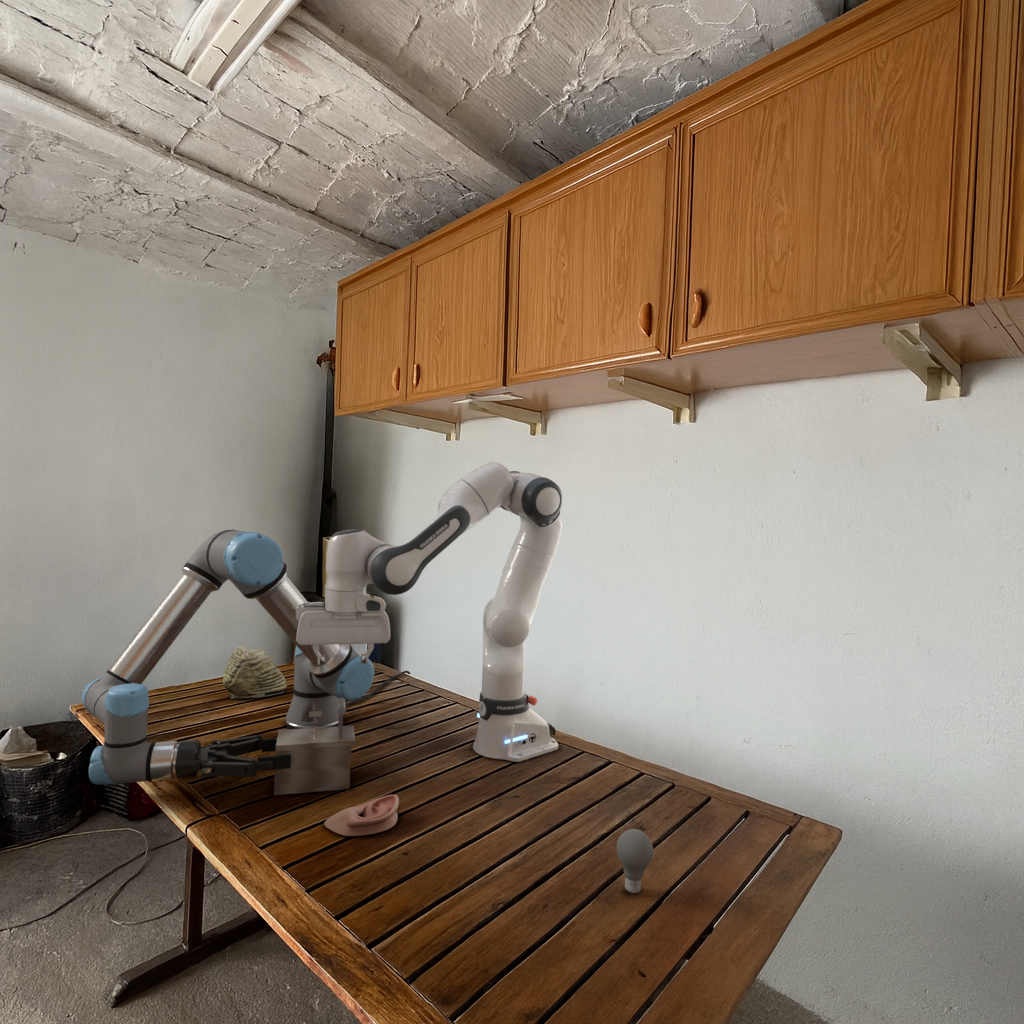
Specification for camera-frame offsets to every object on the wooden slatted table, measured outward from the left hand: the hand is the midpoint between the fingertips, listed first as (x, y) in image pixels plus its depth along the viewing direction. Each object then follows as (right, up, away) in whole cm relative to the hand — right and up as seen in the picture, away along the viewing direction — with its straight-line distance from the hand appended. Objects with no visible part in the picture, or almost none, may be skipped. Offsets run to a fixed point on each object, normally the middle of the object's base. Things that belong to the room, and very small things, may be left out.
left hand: (291, 752), depth 139 cm
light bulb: (+68, -11, -33) cm, 77 cm away
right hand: (+11, +19, +3) cm, 22 cm away
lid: (+5, +2, +1) cm, 6 cm away
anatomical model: (+19, -8, -15) cm, 25 cm away
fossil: (-32, -5, +60) cm, 68 cm away
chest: (+4, -7, +2) cm, 9 cm away
